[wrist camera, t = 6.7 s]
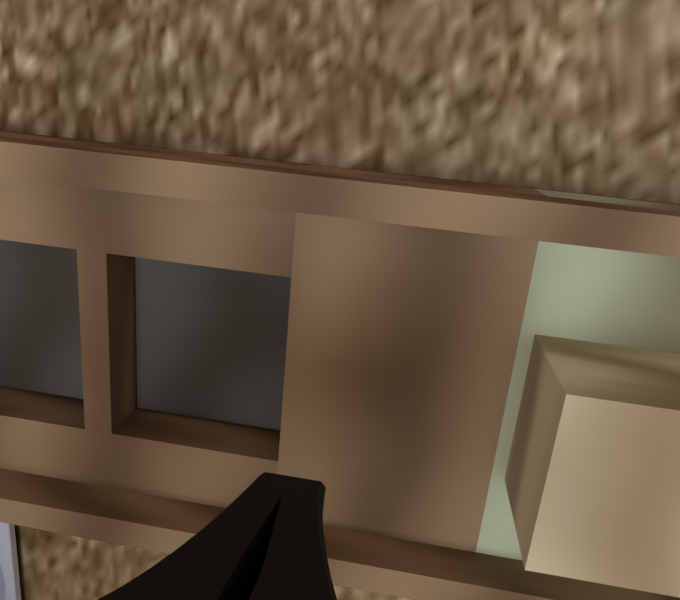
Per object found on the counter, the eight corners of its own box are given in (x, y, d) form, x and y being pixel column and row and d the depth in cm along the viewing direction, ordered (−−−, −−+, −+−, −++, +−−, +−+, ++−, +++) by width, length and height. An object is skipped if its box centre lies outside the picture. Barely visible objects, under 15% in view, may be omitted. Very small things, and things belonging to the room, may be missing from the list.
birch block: (504, 478, 18) (524, 570, 15) (534, 334, 17) (566, 394, 13) (666, 505, 18) (731, 607, 14) (713, 358, 16) (799, 428, 13)
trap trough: (-43, 447, 24) (-119, 499, 21) (-83, 121, 20) (-185, 121, 17) (661, 570, 21) (706, 654, 18) (777, 215, 17) (862, 237, 14)
